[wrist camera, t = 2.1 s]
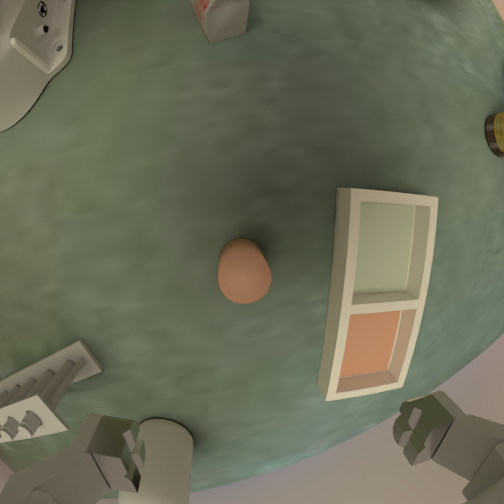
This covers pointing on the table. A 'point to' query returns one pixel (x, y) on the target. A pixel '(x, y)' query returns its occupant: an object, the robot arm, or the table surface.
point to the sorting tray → (376, 290)
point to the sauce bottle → (496, 133)
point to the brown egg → (243, 271)
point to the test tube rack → (42, 392)
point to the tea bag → (222, 18)
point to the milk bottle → (163, 465)
